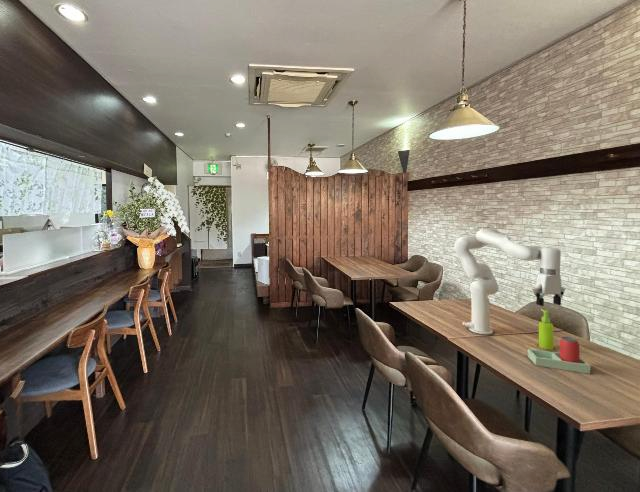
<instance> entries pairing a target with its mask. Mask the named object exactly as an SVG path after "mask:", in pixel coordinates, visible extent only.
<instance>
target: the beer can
mask: <svg viewBox="0 0 640 492" xmlns="http://www.w3.org/2000/svg"><path fill="white" fill-rule="evenodd" d="M559 353H560V359H561V360H562V361H567V362H574V363H579V357H580V343H579V340H578V339H576V338H573V337H569V336H561V338H560V339H559Z"/></svg>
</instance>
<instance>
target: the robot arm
mask: <svg viewBox="0 0 640 492" xmlns="http://www.w3.org/2000/svg"><path fill="white" fill-rule="evenodd" d="M453 246H454V252H455V254H456V256H457V258H458V260H459V262H460V264H461V267H462V268H463V271H464V274H465V275H466V277H467V278H469V279H472V280H473V279H474V281H472V282H471V283H470V285H469V293H470V300H471V301H470V304H471V305H470V306H471V307H470V309H471V310H470V311H471V312H470V313H471V316H470V317H471V318H470V319H471V320H469V321H468V322H466V321H462V326H465V327H468V330H469V331H470V332H473V333H475V334H479V335H485V336H486V335H487V336H489V335H493V334H494V330H493V329H492V328H491V303H490V299H489V296H491V295H494V294H495V295H496V294H497V293H498V291H499V283H498V281H497V280H496V277H495V276H494V273H493V271H492V269H491V267H490V266H489V265H488V264H486V263H485V262H478V261H477V259H476V257H475V255H474V253H472V252H471V251H470V250H475V249H480V248H484V247H487V246H491V247H494V248H496V249H499V250H500V251H502V252H503V253H505V254H506V255H508V256H510V257H512V258H516V259H517V260H521V261H537V260H539V273H538V275H537V278H536V283H535V287H534V288H532V292H533V294H534V296H535V297H536V301H535V302H536V305H538V306H541V307H544V306H545V304H544V303H545V298H544V297H545V295H547V296H549V295H553V297H552V298H553V300H552V301H553V302H552V304H554V305H557V306H562V298H563V295H564V294H565V291H566V288H565V287H564V286H562V278H561V277H562V276H561V255H562V251H561V249H559V248H556V247H546V246H540V245H522V244H519V243H517V242H514V241H512V240H511V237H510V236H508V235H505V234H503V233H501V232H500V231H499V230H498V229H496V228H481V229H479V230H478V231H477V232H476V233H475V235H464V236H461V237H458V238H457V239H456V240H455V242H454V245H453ZM475 279H477V280H475Z"/></svg>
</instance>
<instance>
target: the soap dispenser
mask: <svg viewBox="0 0 640 492" xmlns="http://www.w3.org/2000/svg"><path fill="white" fill-rule="evenodd" d="M539 310H540V311H542V312H543V315H542V316H541V321H538V347H539V348H541V349H542V350H543V349H544V350H546V351H553V350H554V324H553V323H552V322H551V317H550V316H549V314H550V313H551V312H550V311H549V310H547V309H539Z"/></svg>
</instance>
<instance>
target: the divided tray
mask: <svg viewBox="0 0 640 492" xmlns="http://www.w3.org/2000/svg"><path fill="white" fill-rule="evenodd" d="M527 357H528V358H529V360H531V361H532V362H533V364H534V365H535V366H538V367H545V368H551V369H556V370H557V369H558V370H564V371H570V372H576V373H583V374H589V375H590V374H591V364H589V363H588V362H587V361H586V360H584V359H583V358H581V356H579V363H574V362H567V361H562V360H561V359H560V352H557V351H556V352H555V351H550V350H541V349H535V348H534V349H533V348H527Z"/></svg>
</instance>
